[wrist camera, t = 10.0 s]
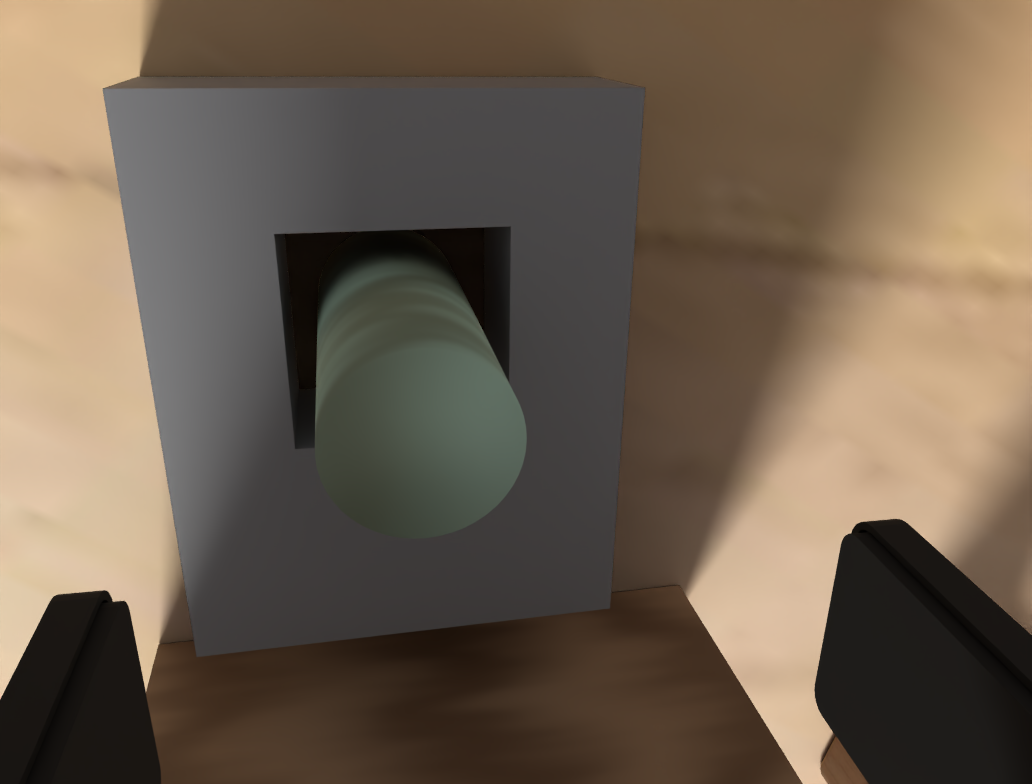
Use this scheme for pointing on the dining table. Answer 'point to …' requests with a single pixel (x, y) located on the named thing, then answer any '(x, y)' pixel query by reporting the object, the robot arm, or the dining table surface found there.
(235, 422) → the socket block
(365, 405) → the peg
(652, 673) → the brown notched wall
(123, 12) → the dining table surface
